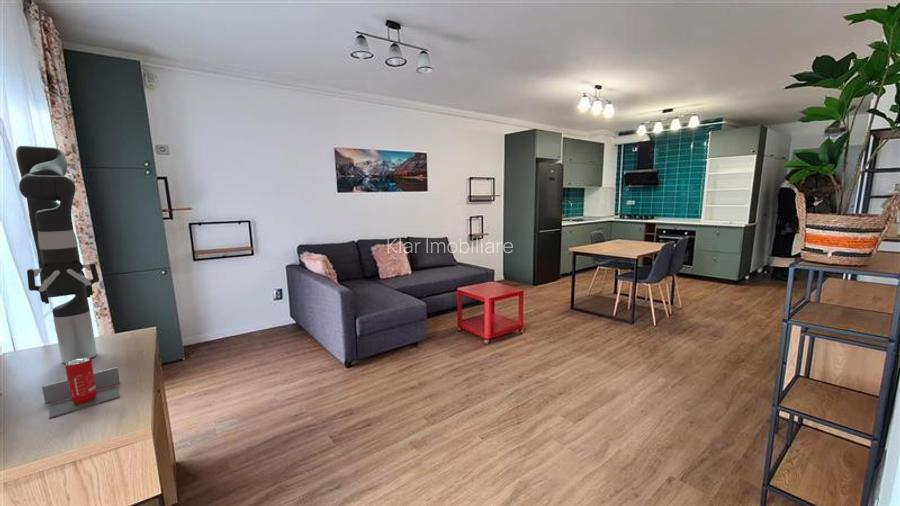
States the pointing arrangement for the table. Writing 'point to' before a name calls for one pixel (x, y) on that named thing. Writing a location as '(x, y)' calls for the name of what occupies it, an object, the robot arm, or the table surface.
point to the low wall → (62, 387)
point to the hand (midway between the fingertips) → (68, 300)
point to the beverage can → (81, 380)
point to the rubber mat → (69, 406)
